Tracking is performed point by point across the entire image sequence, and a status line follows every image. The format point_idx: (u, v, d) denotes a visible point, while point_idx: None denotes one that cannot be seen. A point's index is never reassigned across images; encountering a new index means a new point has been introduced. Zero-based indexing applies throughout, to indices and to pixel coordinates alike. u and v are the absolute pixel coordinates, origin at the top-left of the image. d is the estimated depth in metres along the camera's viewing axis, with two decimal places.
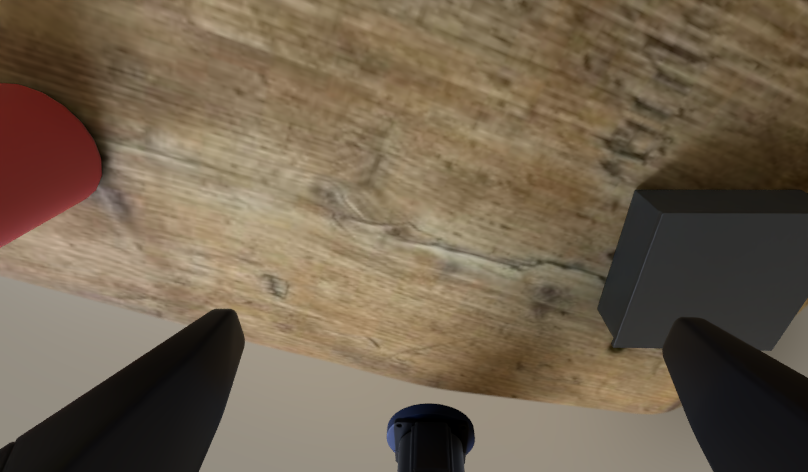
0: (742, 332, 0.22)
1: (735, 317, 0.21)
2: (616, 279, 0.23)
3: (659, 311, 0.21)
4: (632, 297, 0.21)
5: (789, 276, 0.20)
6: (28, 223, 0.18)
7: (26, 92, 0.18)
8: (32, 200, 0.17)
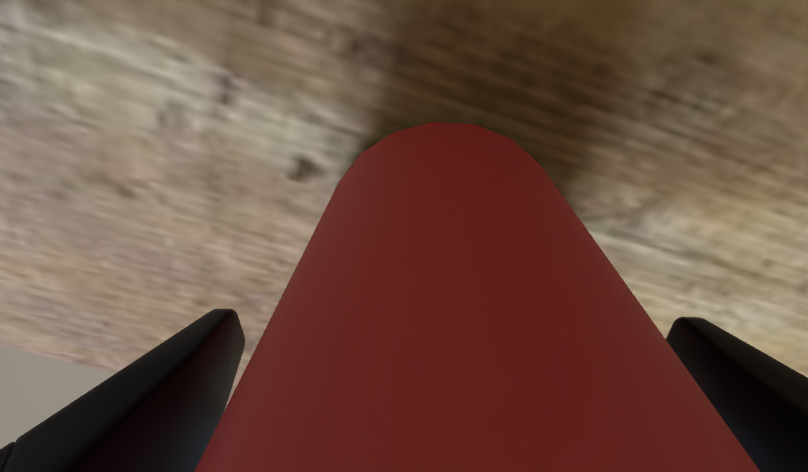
0: None
1: None
2: None
3: None
4: None
5: None
6: None
7: (508, 142, 0.09)
8: None
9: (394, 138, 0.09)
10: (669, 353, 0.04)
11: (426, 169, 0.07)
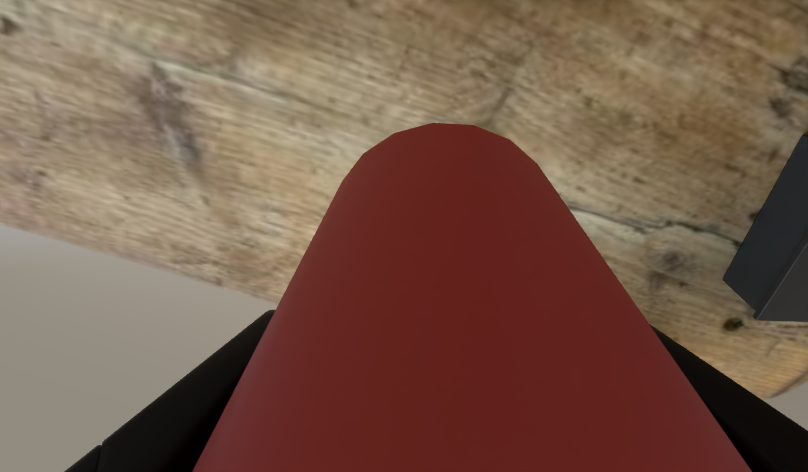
0: None
1: None
2: (762, 242, 0.20)
3: None
4: (796, 260, 0.18)
5: None
6: None
7: (506, 143, 0.09)
8: None
9: (395, 138, 0.09)
10: (651, 337, 0.05)
11: (425, 167, 0.07)
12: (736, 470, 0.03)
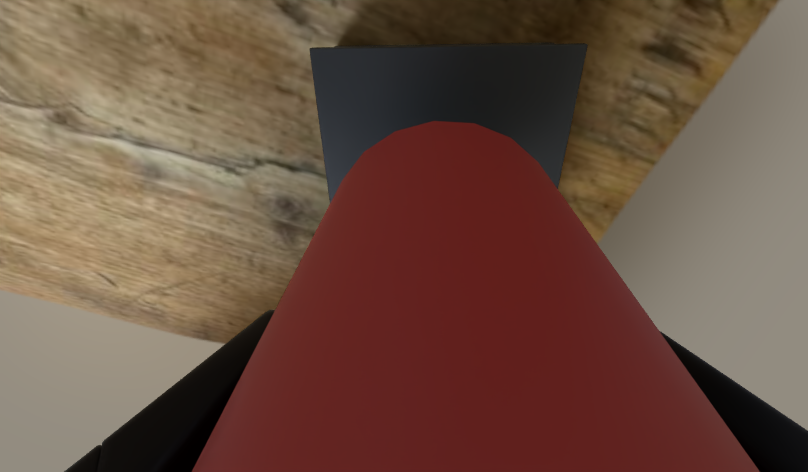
0: None
1: None
2: None
3: None
4: (331, 191, 0.15)
5: None
6: None
7: (507, 141, 0.09)
8: None
9: (396, 136, 0.09)
10: (655, 334, 0.05)
11: (426, 164, 0.07)
12: (743, 468, 0.03)
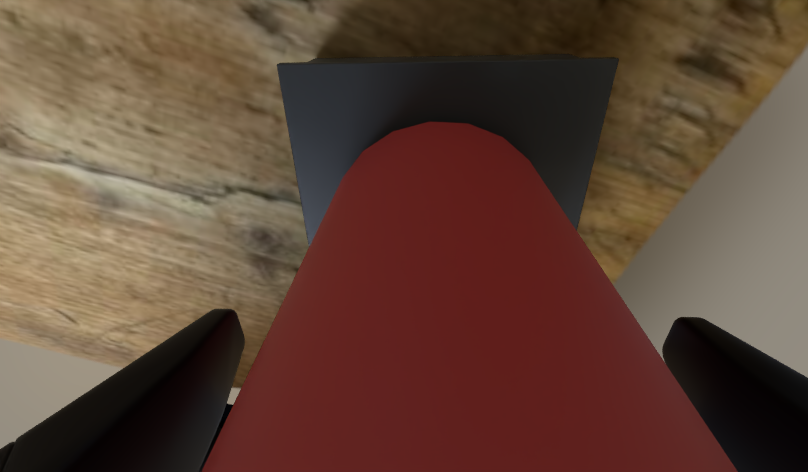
0: None
1: None
2: None
3: None
4: (309, 230, 0.13)
5: None
6: None
7: (499, 140, 0.10)
8: None
9: (394, 137, 0.10)
10: (628, 317, 0.05)
11: (422, 164, 0.08)
12: (693, 426, 0.04)
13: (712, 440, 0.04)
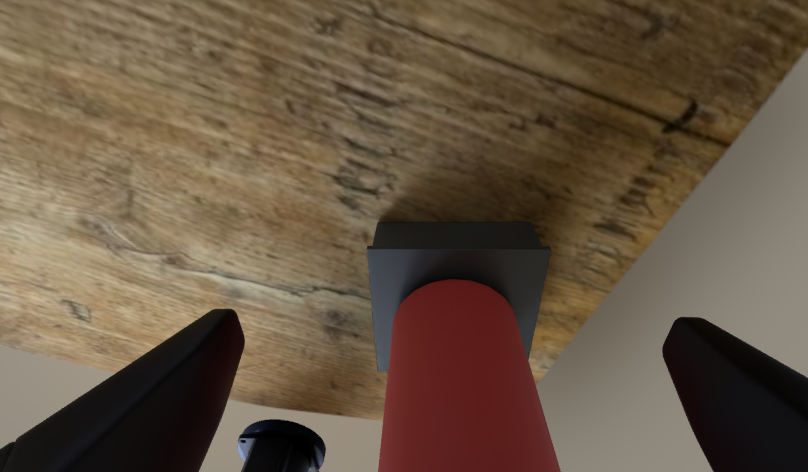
0: None
1: None
2: None
3: None
4: (375, 325, 0.22)
5: None
6: None
7: (487, 292, 0.19)
8: None
9: (431, 291, 0.19)
10: (531, 411, 0.14)
11: (450, 326, 0.16)
12: (539, 454, 0.12)
13: (546, 458, 0.12)
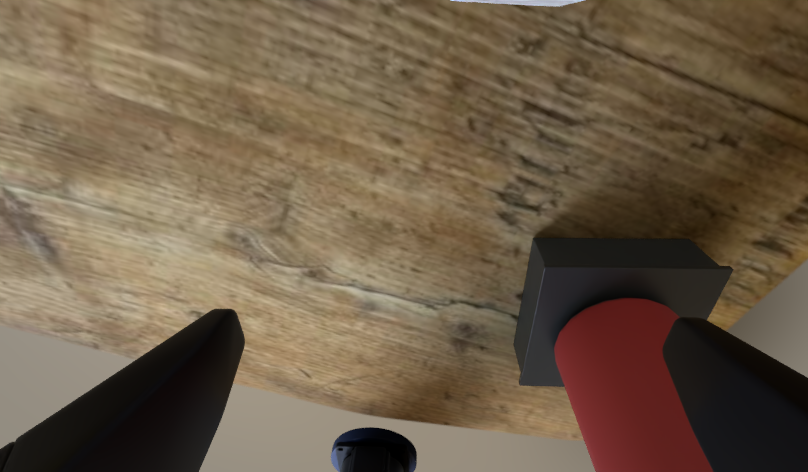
0: None
1: None
2: (523, 320, 0.24)
3: None
4: (530, 341, 0.22)
5: None
6: None
7: (669, 312, 0.19)
8: None
9: (613, 310, 0.19)
10: None
11: (658, 348, 0.16)
12: None
13: None
